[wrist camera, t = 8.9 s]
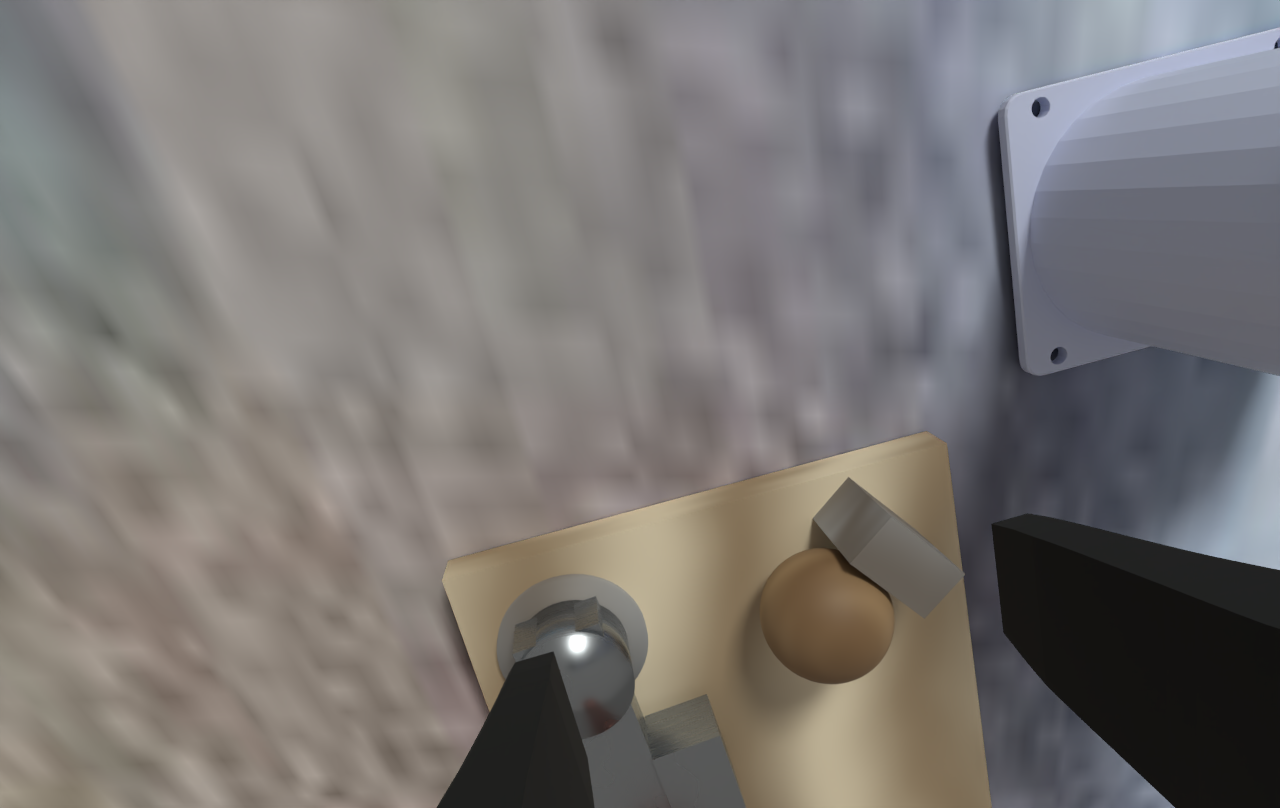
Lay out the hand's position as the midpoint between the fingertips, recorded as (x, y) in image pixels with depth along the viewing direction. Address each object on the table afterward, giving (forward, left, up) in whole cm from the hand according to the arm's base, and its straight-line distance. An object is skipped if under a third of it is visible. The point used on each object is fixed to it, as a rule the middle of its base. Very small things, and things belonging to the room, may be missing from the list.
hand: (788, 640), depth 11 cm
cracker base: (0, +9, -10) cm, 14 cm away
